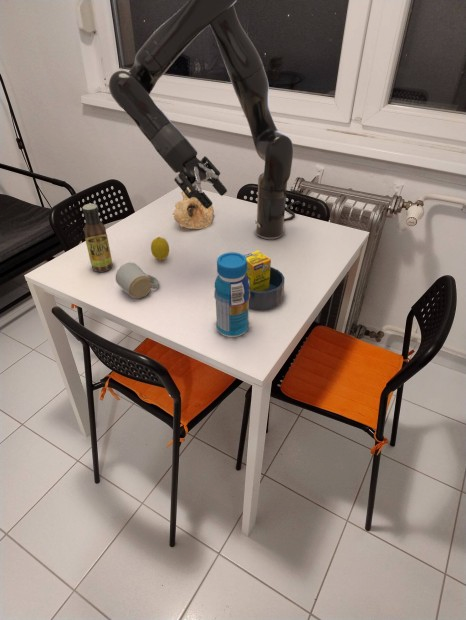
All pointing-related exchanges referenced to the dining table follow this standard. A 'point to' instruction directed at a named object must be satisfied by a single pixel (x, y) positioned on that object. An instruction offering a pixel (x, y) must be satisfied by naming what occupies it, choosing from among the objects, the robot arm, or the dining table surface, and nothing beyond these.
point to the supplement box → (258, 271)
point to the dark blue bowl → (268, 293)
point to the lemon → (159, 248)
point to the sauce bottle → (96, 239)
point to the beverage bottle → (232, 294)
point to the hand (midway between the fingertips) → (217, 199)
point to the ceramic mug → (135, 280)
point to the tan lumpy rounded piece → (192, 213)
